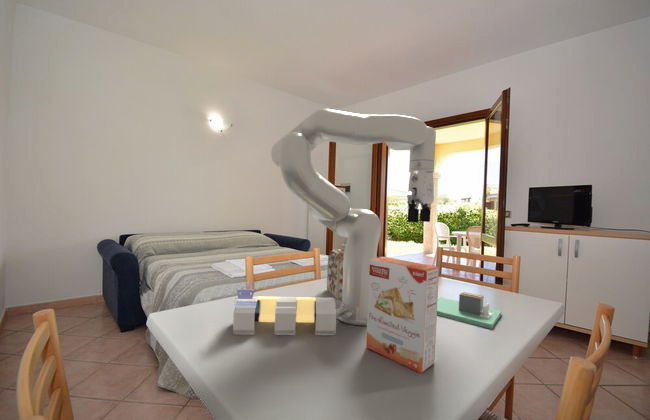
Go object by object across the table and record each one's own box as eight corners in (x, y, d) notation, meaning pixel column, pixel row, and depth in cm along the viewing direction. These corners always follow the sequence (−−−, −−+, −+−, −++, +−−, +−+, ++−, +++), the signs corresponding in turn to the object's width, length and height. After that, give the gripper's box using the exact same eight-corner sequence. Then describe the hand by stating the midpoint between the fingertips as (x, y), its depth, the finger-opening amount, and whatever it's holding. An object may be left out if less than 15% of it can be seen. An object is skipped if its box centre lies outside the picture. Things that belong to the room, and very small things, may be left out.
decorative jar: (326, 289, 116) (327, 242, 115) (354, 288, 119) (356, 242, 119) (336, 299, 104) (338, 247, 104) (367, 297, 108) (369, 247, 107)
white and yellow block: (232, 337, 73) (234, 283, 73) (241, 320, 83) (242, 273, 83) (335, 338, 75) (337, 285, 75) (331, 321, 85) (333, 275, 85)
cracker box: (364, 349, 69) (368, 257, 69) (379, 341, 73) (383, 255, 73) (421, 375, 59) (426, 269, 59) (435, 364, 63) (440, 265, 63)
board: (491, 328, 84) (492, 313, 84) (424, 311, 96) (425, 298, 96) (501, 314, 95) (502, 301, 95) (440, 300, 107) (440, 289, 107)
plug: (479, 315, 91) (480, 298, 90) (458, 310, 94) (459, 293, 94) (482, 312, 94) (483, 295, 94) (462, 307, 97) (463, 291, 97)
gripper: (423, 163, 86) (420, 223, 86) (442, 170, 99) (440, 222, 100) (398, 164, 91) (395, 221, 91) (420, 171, 104) (418, 220, 105)
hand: (419, 221), depth 95 cm, fingers open, 9 cm apart
